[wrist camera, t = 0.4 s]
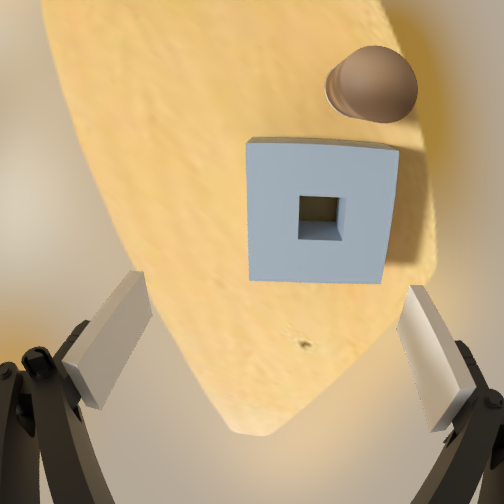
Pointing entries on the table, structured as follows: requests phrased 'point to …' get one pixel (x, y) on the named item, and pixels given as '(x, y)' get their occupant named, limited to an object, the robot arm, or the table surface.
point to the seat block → (319, 232)
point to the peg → (372, 85)
